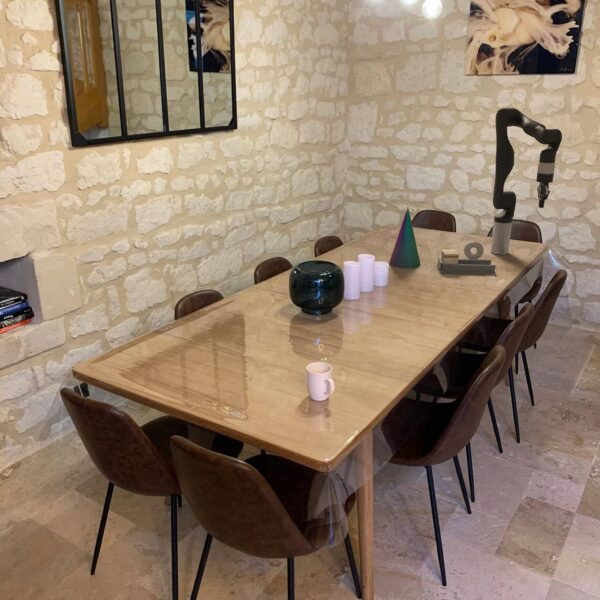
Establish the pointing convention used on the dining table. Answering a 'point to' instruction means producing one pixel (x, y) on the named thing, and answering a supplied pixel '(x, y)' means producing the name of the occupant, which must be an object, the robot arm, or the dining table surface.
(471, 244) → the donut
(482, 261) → the bay
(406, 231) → the decorative cone
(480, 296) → the dining table surface
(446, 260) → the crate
